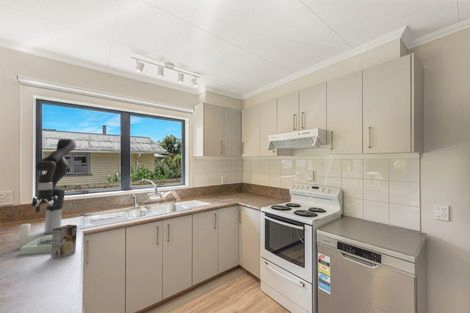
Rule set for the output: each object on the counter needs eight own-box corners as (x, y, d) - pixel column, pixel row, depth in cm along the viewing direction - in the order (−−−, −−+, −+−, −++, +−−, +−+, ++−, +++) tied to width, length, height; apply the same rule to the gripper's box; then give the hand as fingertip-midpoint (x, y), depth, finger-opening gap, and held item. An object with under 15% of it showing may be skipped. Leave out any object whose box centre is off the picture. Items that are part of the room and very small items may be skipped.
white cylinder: (21, 246, 126) (23, 223, 127) (30, 245, 127) (32, 223, 128) (16, 249, 122) (18, 225, 123) (25, 248, 123) (27, 225, 124)
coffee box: (67, 251, 121) (69, 224, 122) (75, 252, 120) (77, 225, 121) (50, 257, 112) (52, 228, 113) (59, 259, 111) (61, 229, 112)
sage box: (39, 243, 132) (40, 237, 132) (68, 241, 137) (69, 235, 137) (20, 254, 115) (20, 247, 115) (54, 251, 119) (54, 245, 120)
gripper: (60, 187, 149) (59, 210, 148) (37, 188, 146) (37, 211, 145) (53, 189, 141) (52, 212, 141) (29, 189, 138) (28, 213, 138)
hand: (45, 211), depth 143 cm, fingers open, 8 cm apart
